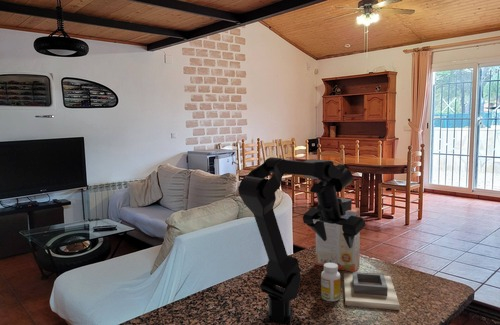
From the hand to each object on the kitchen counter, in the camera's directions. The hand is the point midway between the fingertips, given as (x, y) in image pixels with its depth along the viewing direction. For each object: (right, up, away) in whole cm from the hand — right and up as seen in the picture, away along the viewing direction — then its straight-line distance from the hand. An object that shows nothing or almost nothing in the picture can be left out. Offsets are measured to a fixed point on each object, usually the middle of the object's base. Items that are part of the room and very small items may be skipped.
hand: (337, 243), depth 113 cm
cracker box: (+4, -11, +16) cm, 20 cm away
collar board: (+8, -13, -4) cm, 16 cm away
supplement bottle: (-3, -14, -6) cm, 16 cm away
